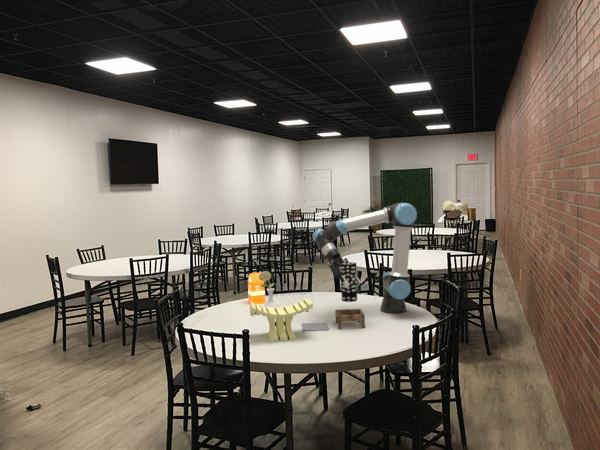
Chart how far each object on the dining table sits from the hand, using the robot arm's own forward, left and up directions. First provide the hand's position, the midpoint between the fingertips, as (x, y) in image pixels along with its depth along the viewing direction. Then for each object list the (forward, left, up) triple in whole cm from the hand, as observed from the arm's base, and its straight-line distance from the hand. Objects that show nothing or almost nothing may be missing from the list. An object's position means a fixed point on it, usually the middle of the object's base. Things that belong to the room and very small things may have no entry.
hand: (353, 284), depth 274 cm
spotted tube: (+2, -3, -9) cm, 10 cm away
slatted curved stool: (+39, +12, -23) cm, 47 cm away
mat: (+21, -2, -22) cm, 31 cm away
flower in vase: (+46, -41, -23) cm, 65 cm away
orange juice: (+55, -65, -23) cm, 88 cm away
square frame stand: (+2, -3, -22) cm, 23 cm away
